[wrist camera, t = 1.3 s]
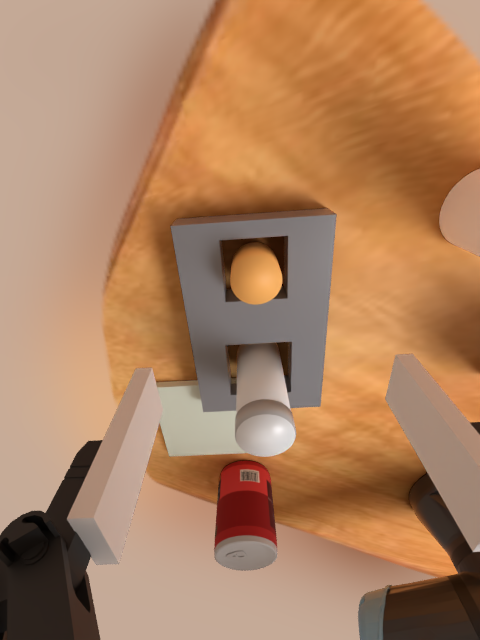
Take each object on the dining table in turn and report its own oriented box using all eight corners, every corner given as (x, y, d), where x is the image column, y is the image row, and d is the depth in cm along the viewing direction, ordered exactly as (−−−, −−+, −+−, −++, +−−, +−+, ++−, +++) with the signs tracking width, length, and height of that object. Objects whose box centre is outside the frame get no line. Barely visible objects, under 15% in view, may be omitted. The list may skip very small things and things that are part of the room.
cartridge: (280, 369, 37) (295, 455, 27) (237, 372, 38) (237, 458, 27) (280, 333, 35) (297, 413, 24) (234, 336, 35) (232, 416, 25)
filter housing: (315, 389, 39) (320, 406, 36) (205, 394, 39) (203, 412, 37) (327, 208, 28) (336, 214, 26) (176, 218, 29) (170, 225, 26)
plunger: (277, 285, 30) (282, 303, 27) (233, 287, 30) (232, 306, 27) (277, 240, 28) (282, 254, 25) (229, 244, 28) (228, 257, 25)
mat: (259, 446, 44) (259, 452, 43) (170, 450, 45) (169, 456, 44) (255, 376, 38) (255, 382, 37) (151, 382, 38) (149, 387, 38)
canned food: (209, 470, 47) (201, 552, 38) (254, 452, 45) (257, 534, 35) (236, 494, 50) (235, 576, 41) (278, 479, 48) (288, 561, 39)
